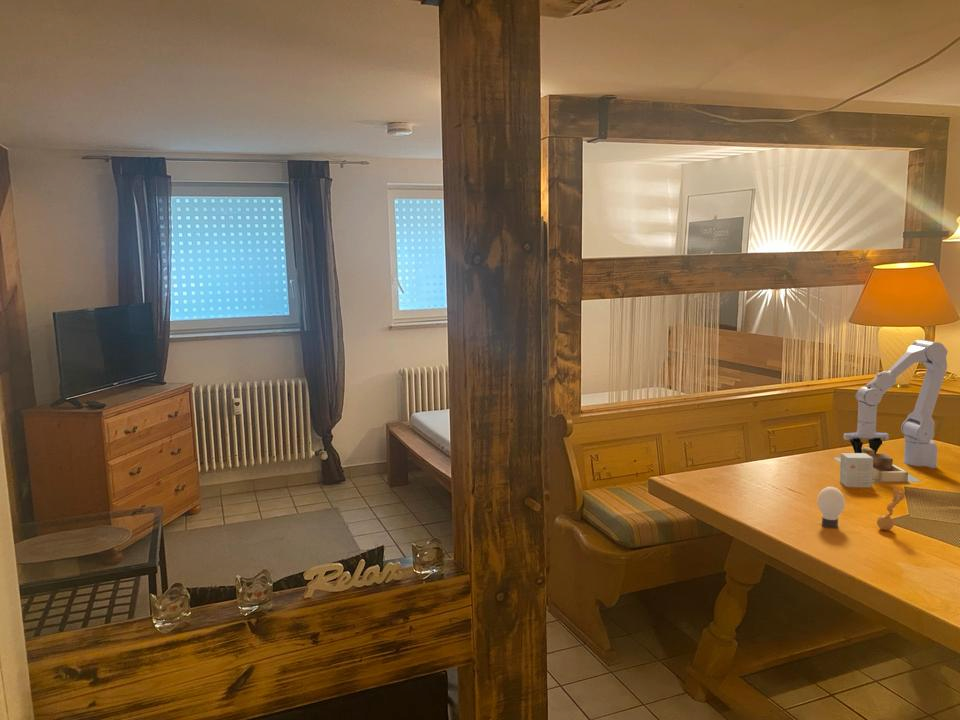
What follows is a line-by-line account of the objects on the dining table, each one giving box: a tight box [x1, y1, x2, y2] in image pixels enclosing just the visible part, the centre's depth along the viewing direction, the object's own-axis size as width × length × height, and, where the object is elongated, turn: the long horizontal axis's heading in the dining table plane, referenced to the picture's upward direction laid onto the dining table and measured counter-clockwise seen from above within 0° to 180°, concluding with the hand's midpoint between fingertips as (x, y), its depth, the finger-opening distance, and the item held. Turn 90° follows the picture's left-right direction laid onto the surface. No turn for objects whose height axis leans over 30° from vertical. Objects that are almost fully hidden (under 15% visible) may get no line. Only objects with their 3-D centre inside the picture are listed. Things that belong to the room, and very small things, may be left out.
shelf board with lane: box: [833, 457, 922, 483], centre depth 242 cm, size 16×28×4 cm, turn 177°
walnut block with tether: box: [861, 446, 894, 471], centre depth 242 cm, size 5×15×6 cm, turn 177°
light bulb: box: [817, 486, 846, 528], centre depth 195 cm, size 7×7×11 cm
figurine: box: [876, 488, 905, 531], centre depth 190 cm, size 8×6×12 cm
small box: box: [839, 452, 873, 488], centre depth 226 cm, size 8×6×10 cm
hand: (864, 459), depth 247 cm, fingers closed on walnut block with tether, 4 cm apart
